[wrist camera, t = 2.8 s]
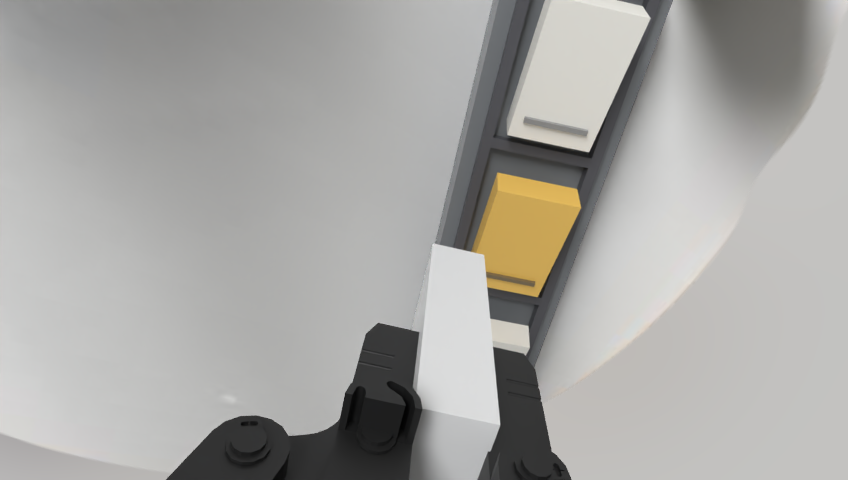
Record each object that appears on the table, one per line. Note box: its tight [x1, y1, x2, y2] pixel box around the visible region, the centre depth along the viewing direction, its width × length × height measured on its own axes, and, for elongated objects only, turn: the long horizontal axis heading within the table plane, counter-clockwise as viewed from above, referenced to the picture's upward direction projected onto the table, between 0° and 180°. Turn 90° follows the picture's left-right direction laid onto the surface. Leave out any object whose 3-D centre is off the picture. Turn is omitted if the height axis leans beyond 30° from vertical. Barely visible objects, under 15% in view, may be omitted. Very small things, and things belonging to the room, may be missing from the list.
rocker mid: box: [471, 172, 581, 297], centre depth 33 cm, size 8×5×2 cm, turn 168°
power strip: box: [435, 0, 673, 367], centre depth 35 cm, size 34×9×5 cm, turn 169°
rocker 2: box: [507, 0, 651, 152], centre depth 28 cm, size 8×5×2 cm, turn 168°
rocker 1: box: [490, 319, 530, 356], centre depth 37 cm, size 8×5×2 cm, turn 168°
